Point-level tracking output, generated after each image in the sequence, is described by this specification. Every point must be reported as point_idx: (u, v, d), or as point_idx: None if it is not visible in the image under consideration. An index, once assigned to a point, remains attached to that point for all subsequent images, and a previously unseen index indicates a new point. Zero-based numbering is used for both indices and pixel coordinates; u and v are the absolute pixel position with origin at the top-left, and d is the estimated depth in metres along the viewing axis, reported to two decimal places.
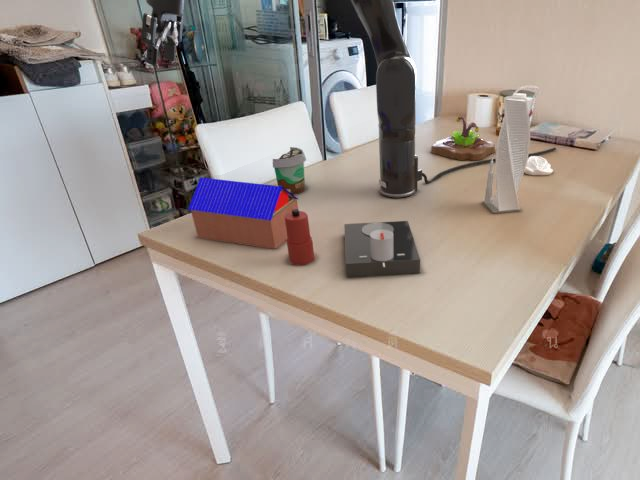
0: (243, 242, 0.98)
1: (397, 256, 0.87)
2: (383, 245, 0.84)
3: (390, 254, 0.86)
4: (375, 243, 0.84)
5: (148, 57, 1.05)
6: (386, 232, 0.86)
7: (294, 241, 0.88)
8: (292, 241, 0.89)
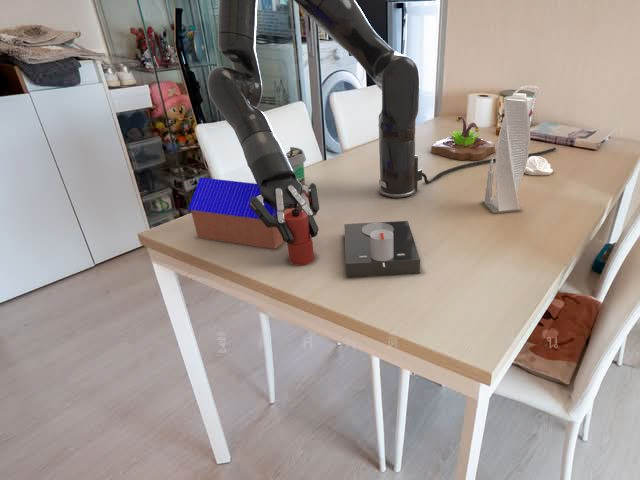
0: (243, 242, 0.98)
1: (397, 256, 0.87)
2: (383, 245, 0.84)
3: (390, 254, 0.86)
4: (375, 243, 0.84)
5: (283, 237, 0.87)
6: (386, 232, 0.86)
7: (294, 241, 0.88)
8: None
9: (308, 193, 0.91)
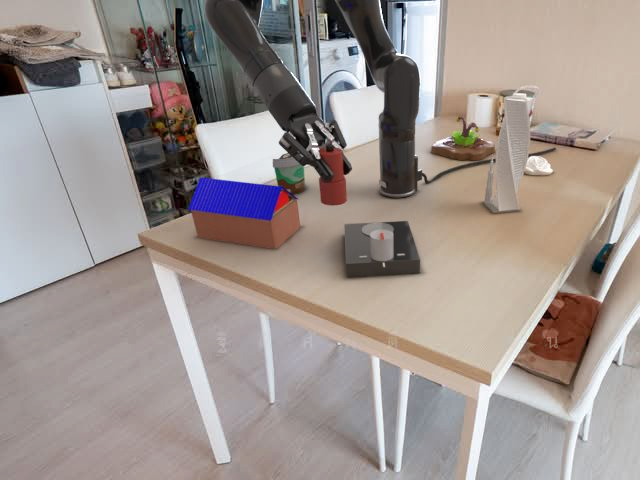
0: (243, 242, 0.98)
1: (397, 256, 0.87)
2: (383, 245, 0.84)
3: (390, 254, 0.86)
4: (375, 243, 0.84)
5: (321, 175, 0.82)
6: (386, 232, 0.86)
7: None
8: None
9: (331, 130, 0.87)
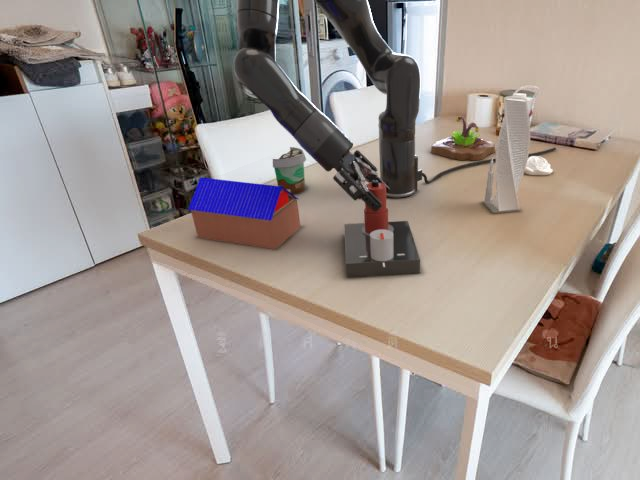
0: (243, 242, 0.98)
1: (397, 256, 0.87)
2: (383, 245, 0.84)
3: (390, 254, 0.86)
4: (375, 243, 0.84)
5: (371, 206, 0.89)
6: (386, 232, 0.86)
7: (381, 210, 0.93)
8: (379, 211, 0.93)
9: None
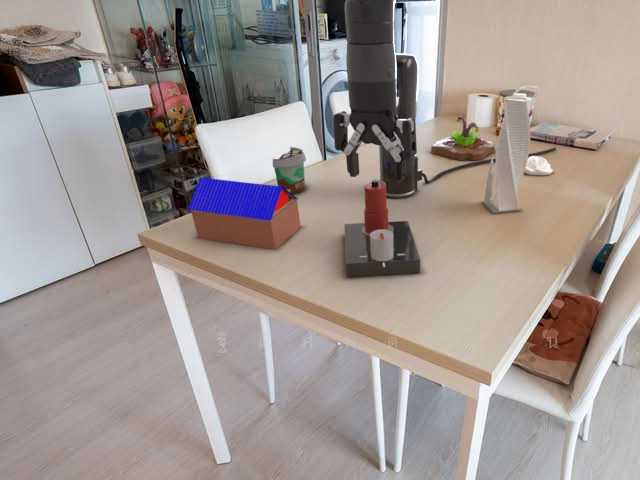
0: (243, 242, 0.98)
1: (397, 256, 0.87)
2: (383, 245, 0.84)
3: (390, 254, 0.86)
4: (375, 243, 0.84)
5: (402, 175, 0.77)
6: (386, 232, 0.86)
7: (381, 210, 0.93)
8: (379, 211, 0.93)
9: None
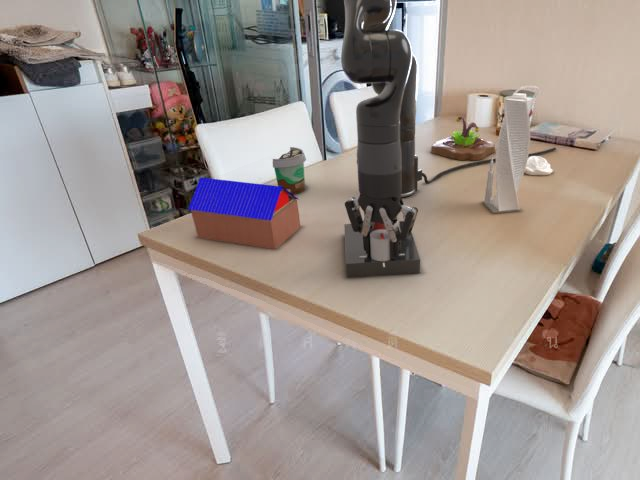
0: (243, 242, 0.98)
1: (397, 256, 0.87)
2: (383, 245, 0.84)
3: None
4: (375, 243, 0.84)
5: (398, 252, 0.85)
6: (386, 232, 0.86)
7: None
8: None
9: None
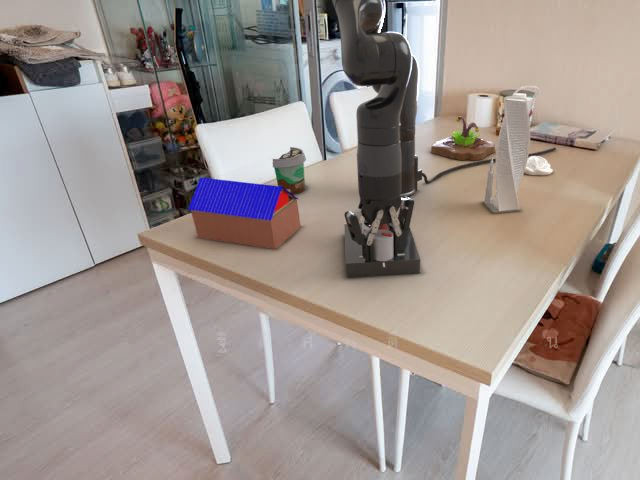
0: (243, 242, 0.98)
1: (397, 256, 0.87)
2: (392, 242, 0.85)
3: None
4: (387, 243, 0.84)
5: None
6: (380, 231, 0.86)
7: None
8: None
9: None
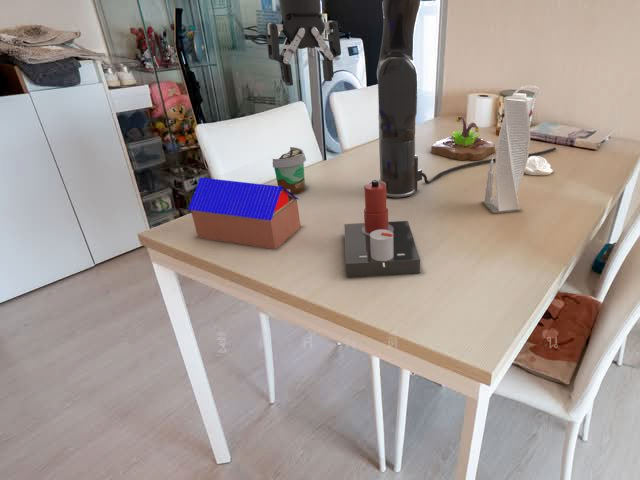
0: (243, 242, 0.98)
1: (397, 256, 0.87)
2: (392, 242, 0.85)
3: None
4: (387, 243, 0.84)
5: None
6: (380, 231, 0.86)
7: (381, 210, 0.93)
8: (379, 211, 0.93)
9: None
